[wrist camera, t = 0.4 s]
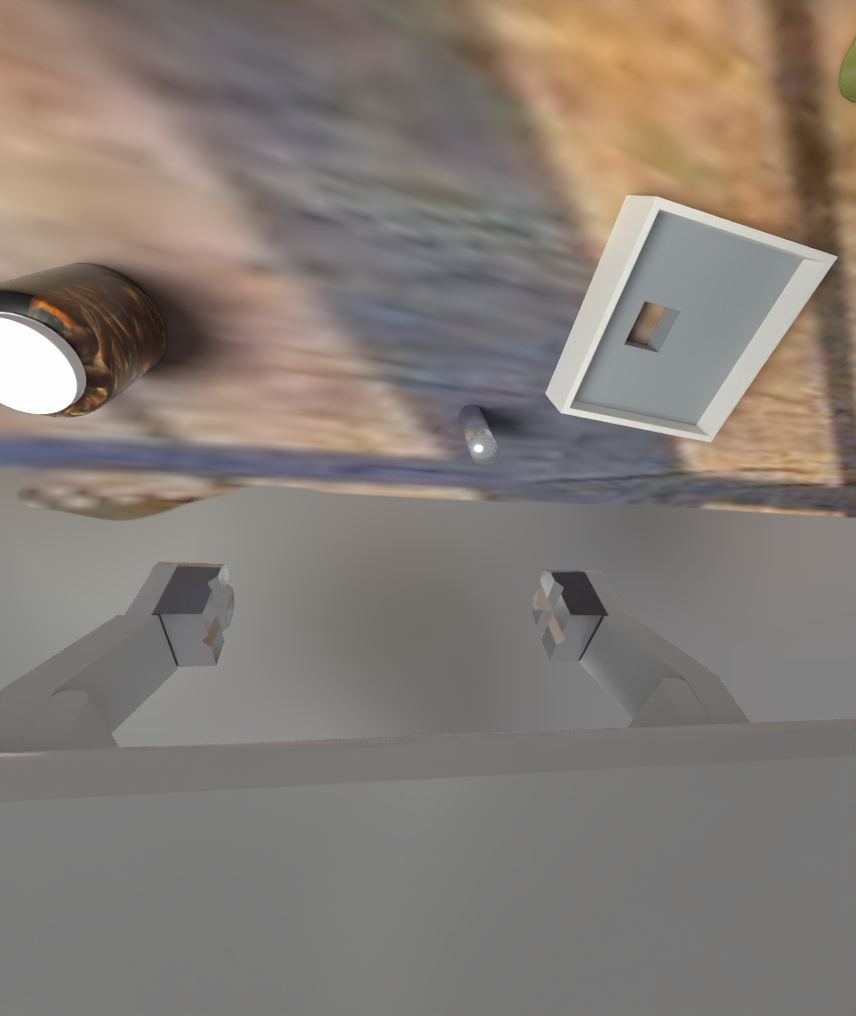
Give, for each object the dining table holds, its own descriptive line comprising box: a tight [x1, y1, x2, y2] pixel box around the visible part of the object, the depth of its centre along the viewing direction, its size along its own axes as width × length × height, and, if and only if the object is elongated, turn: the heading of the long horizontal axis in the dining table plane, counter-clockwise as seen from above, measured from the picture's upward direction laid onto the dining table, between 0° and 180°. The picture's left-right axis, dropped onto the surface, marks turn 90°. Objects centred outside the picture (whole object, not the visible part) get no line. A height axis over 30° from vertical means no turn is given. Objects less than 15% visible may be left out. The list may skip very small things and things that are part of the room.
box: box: [546, 195, 837, 442], centre depth 51 cm, size 22×22×6 cm
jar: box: [0, 264, 167, 417], centre depth 42 cm, size 12×12×15 cm
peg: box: [459, 405, 499, 465], centre depth 54 cm, size 3×3×10 cm
